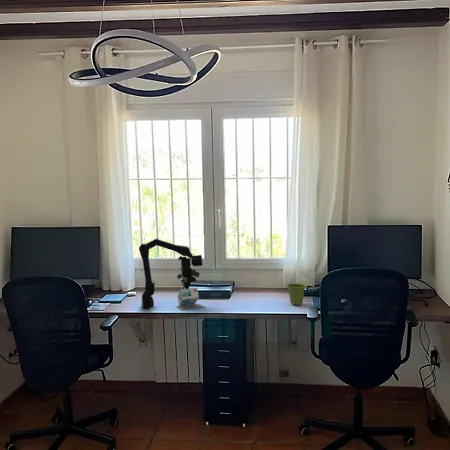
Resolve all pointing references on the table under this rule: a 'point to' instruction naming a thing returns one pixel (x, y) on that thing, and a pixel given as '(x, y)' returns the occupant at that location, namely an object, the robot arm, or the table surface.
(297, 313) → the table surface
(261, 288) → the table surface
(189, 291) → the light bulb box
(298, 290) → the plant pot
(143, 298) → the robot arm
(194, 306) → the slate mat
